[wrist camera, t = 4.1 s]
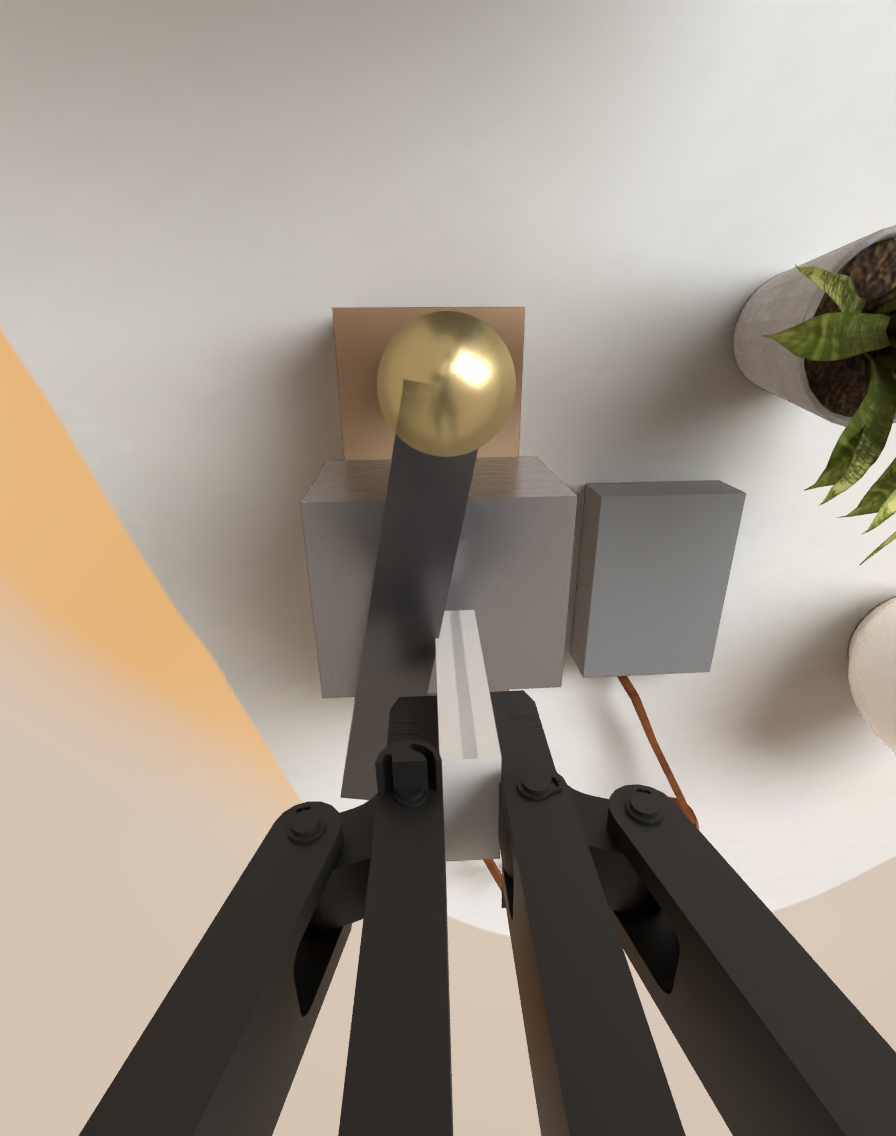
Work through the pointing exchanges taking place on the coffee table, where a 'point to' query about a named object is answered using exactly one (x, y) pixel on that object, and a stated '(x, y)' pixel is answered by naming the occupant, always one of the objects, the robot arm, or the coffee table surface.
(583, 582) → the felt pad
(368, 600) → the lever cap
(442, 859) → the robot arm
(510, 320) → the body
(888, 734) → the lidded jar
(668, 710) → the coffee table surface
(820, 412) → the house plant
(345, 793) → the lever
